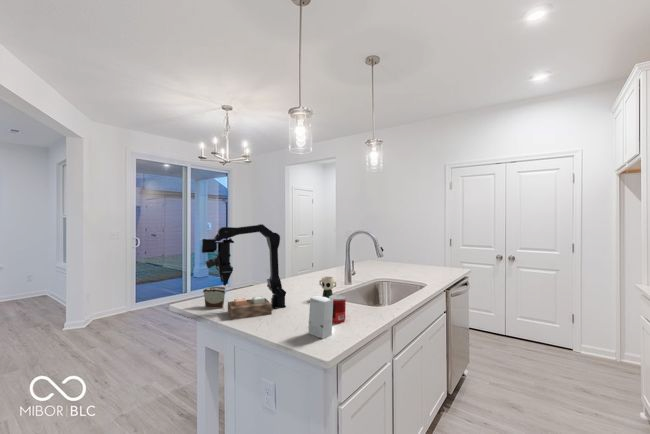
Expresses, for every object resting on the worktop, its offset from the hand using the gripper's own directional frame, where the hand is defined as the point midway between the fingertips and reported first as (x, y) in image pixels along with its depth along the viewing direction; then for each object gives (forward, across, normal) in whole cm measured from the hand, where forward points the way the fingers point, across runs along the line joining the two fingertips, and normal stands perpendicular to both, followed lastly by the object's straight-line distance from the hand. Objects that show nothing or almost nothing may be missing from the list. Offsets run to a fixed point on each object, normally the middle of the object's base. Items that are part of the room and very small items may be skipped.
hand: (223, 283), depth 148 cm
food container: (+15, -14, -2) cm, 21 cm away
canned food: (+15, +33, +46) cm, 59 cm away
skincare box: (+15, +45, +32) cm, 57 cm away
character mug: (+15, -1, +58) cm, 60 cm away
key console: (+15, +5, +12) cm, 20 cm away
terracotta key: (+11, +5, +7) cm, 14 cm away
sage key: (+11, +5, +16) cm, 20 cm away
